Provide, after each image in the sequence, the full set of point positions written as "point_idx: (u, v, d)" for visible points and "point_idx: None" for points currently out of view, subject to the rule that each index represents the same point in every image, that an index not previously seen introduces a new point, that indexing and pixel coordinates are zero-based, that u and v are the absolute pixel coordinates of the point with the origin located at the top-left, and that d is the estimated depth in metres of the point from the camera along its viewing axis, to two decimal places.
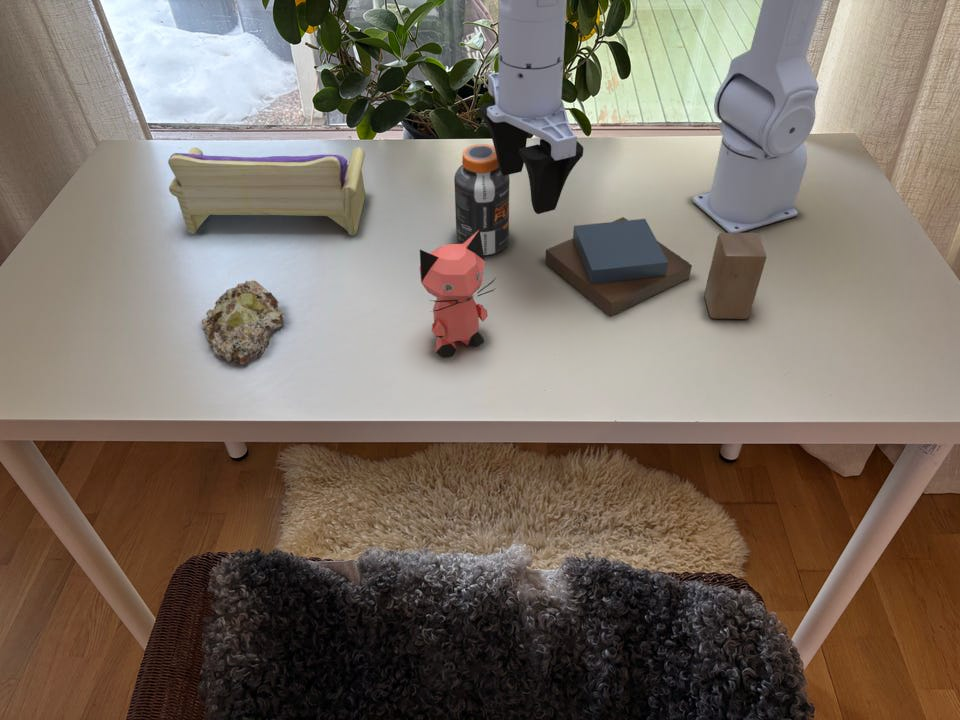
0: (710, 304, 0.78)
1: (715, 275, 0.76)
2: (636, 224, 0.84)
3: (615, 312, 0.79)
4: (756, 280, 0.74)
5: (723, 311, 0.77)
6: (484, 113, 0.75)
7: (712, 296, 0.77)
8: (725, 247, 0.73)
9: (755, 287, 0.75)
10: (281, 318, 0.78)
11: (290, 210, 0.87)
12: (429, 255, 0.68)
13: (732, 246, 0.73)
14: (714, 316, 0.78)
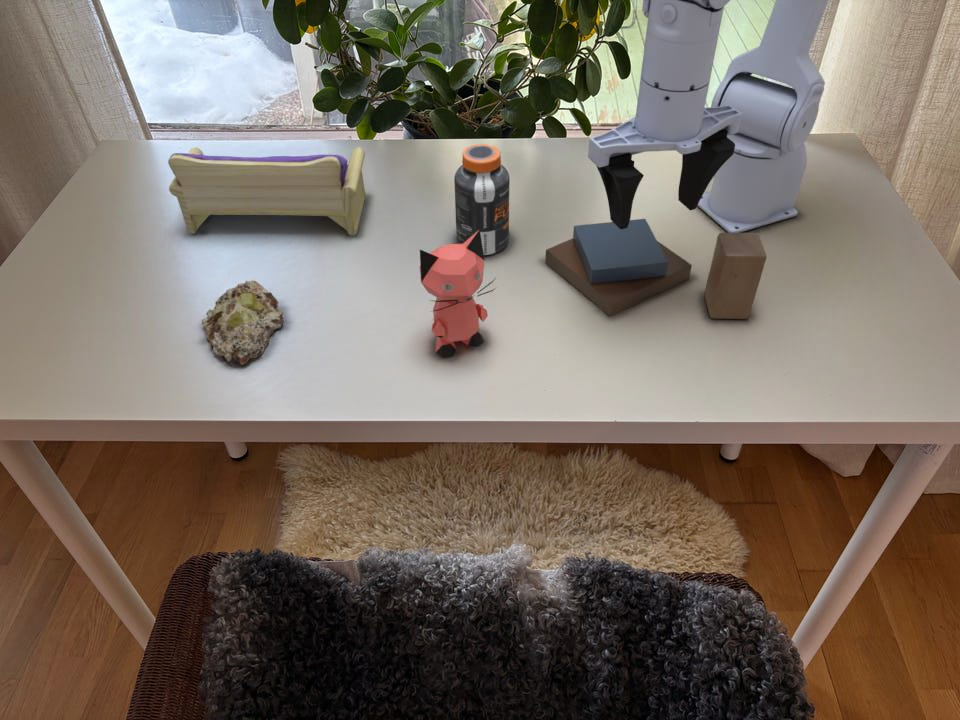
0: (710, 304, 0.78)
1: (715, 275, 0.76)
2: (636, 224, 0.84)
3: (615, 312, 0.79)
4: (756, 280, 0.74)
5: (723, 311, 0.77)
6: (638, 174, 0.67)
7: (712, 296, 0.77)
8: (725, 247, 0.73)
9: (755, 287, 0.75)
10: (281, 318, 0.78)
11: (290, 210, 0.87)
12: (429, 255, 0.68)
13: (732, 246, 0.73)
14: (714, 316, 0.78)
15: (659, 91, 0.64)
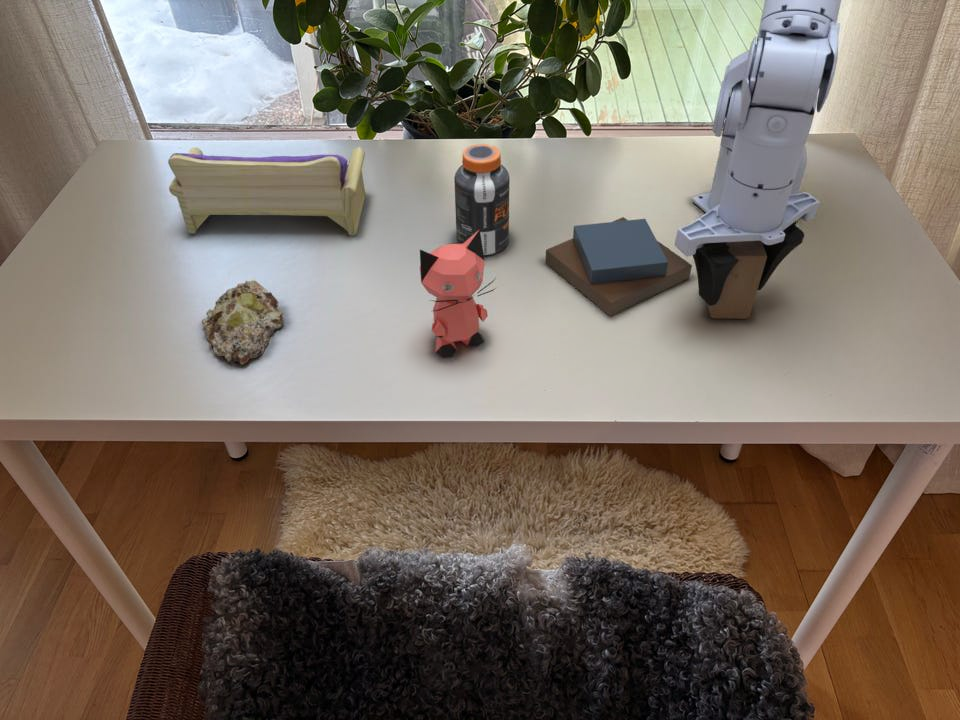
0: None
1: None
2: (636, 224, 0.84)
3: (615, 312, 0.79)
4: (756, 280, 0.74)
5: (724, 311, 0.77)
6: (734, 259, 0.70)
7: None
8: None
9: (755, 287, 0.75)
10: (281, 318, 0.78)
11: (290, 210, 0.87)
12: (429, 255, 0.68)
13: (732, 246, 0.73)
14: (714, 316, 0.78)
15: (748, 188, 0.67)
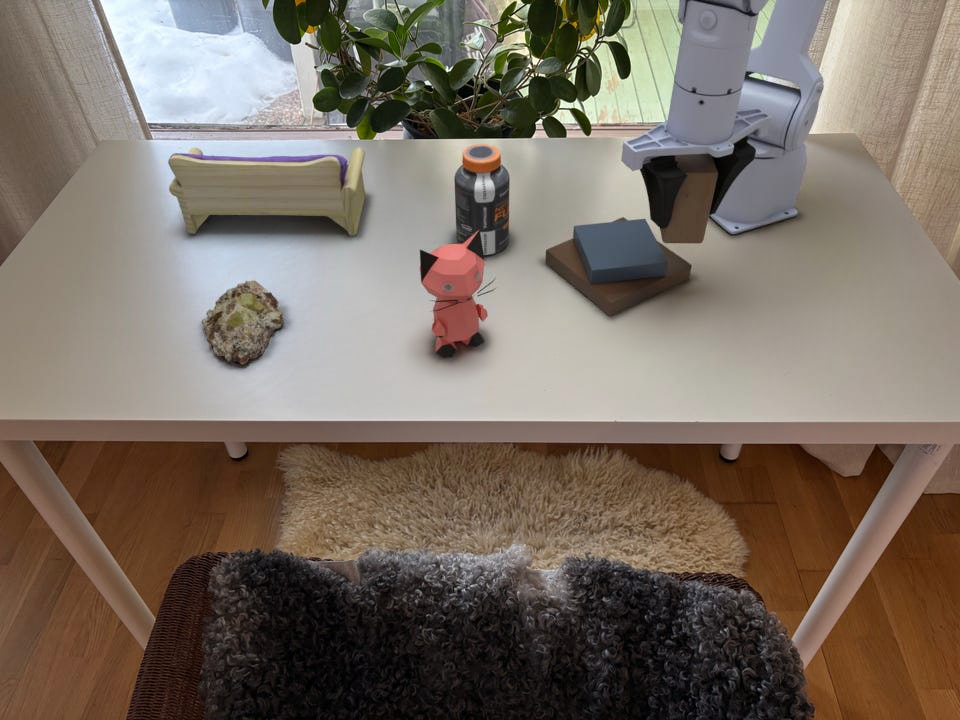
0: None
1: None
2: (636, 224, 0.84)
3: (615, 312, 0.79)
4: (708, 200, 0.72)
5: (676, 235, 0.75)
6: (682, 174, 0.68)
7: None
8: None
9: (707, 208, 0.72)
10: (281, 318, 0.78)
11: (290, 210, 0.87)
12: (429, 255, 0.68)
13: (682, 163, 0.71)
14: (667, 241, 0.75)
15: (694, 95, 0.64)
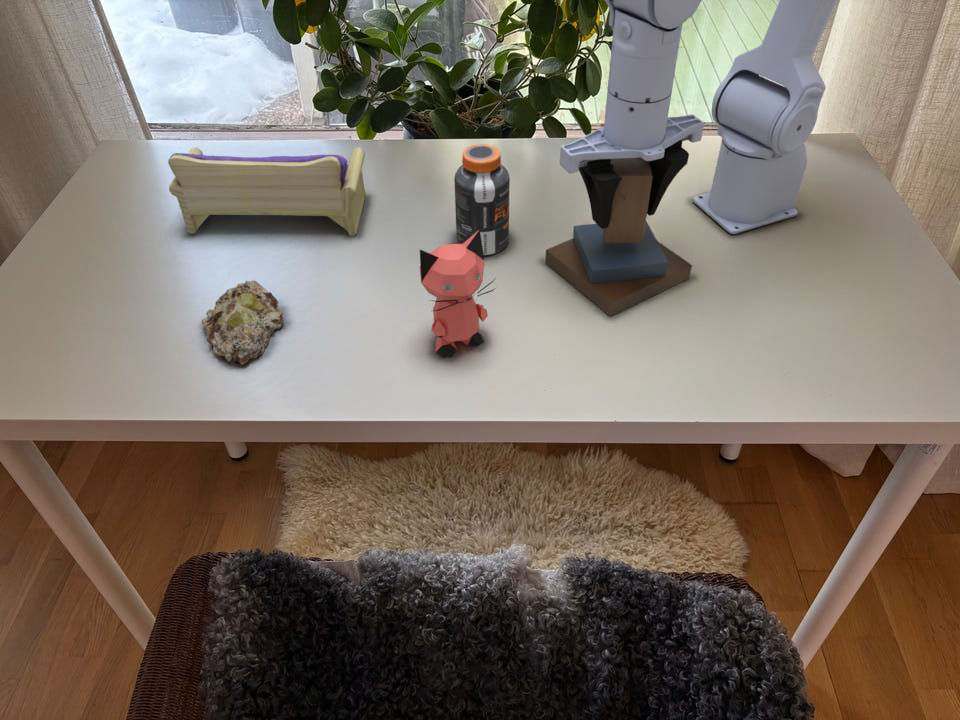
0: (604, 228, 0.79)
1: None
2: None
3: (615, 312, 0.79)
4: (644, 201, 0.76)
5: (616, 235, 0.78)
6: (616, 177, 0.72)
7: None
8: None
9: (644, 209, 0.76)
10: (281, 318, 0.78)
11: (290, 210, 0.87)
12: (429, 255, 0.68)
13: (619, 167, 0.75)
14: (608, 240, 0.79)
15: (624, 102, 0.68)
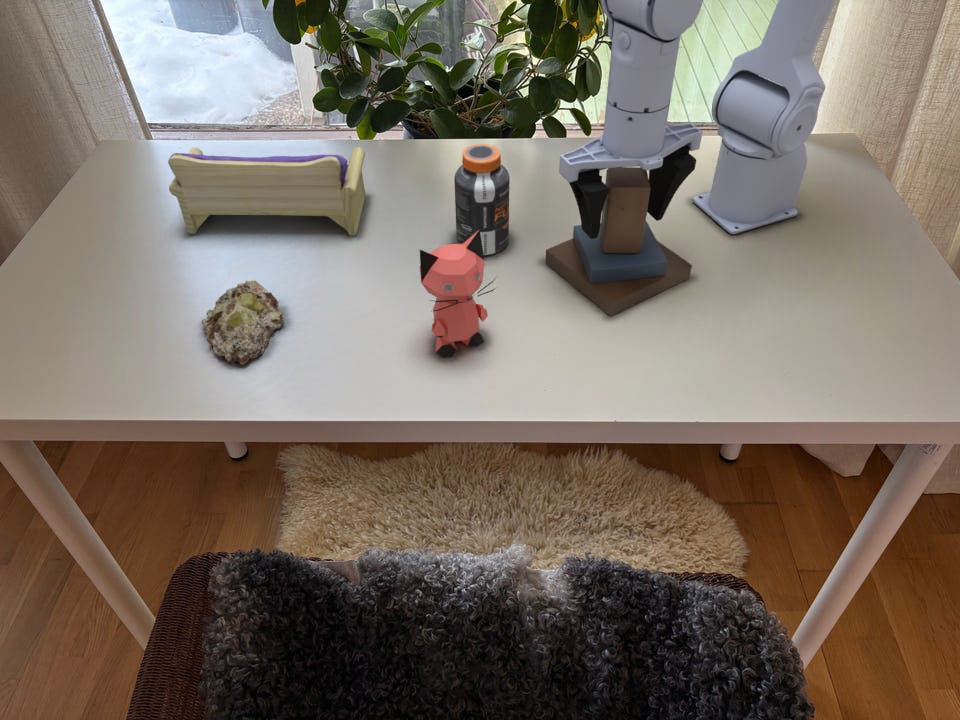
0: (602, 239, 0.80)
1: (605, 209, 0.78)
2: None
3: (615, 312, 0.79)
4: (642, 212, 0.76)
5: (615, 245, 0.79)
6: (605, 188, 0.72)
7: (603, 230, 0.79)
8: (611, 179, 0.76)
9: (642, 220, 0.77)
10: (281, 318, 0.78)
11: (290, 210, 0.87)
12: (429, 255, 0.68)
13: (618, 179, 0.76)
14: (606, 250, 0.80)
15: (623, 112, 0.69)
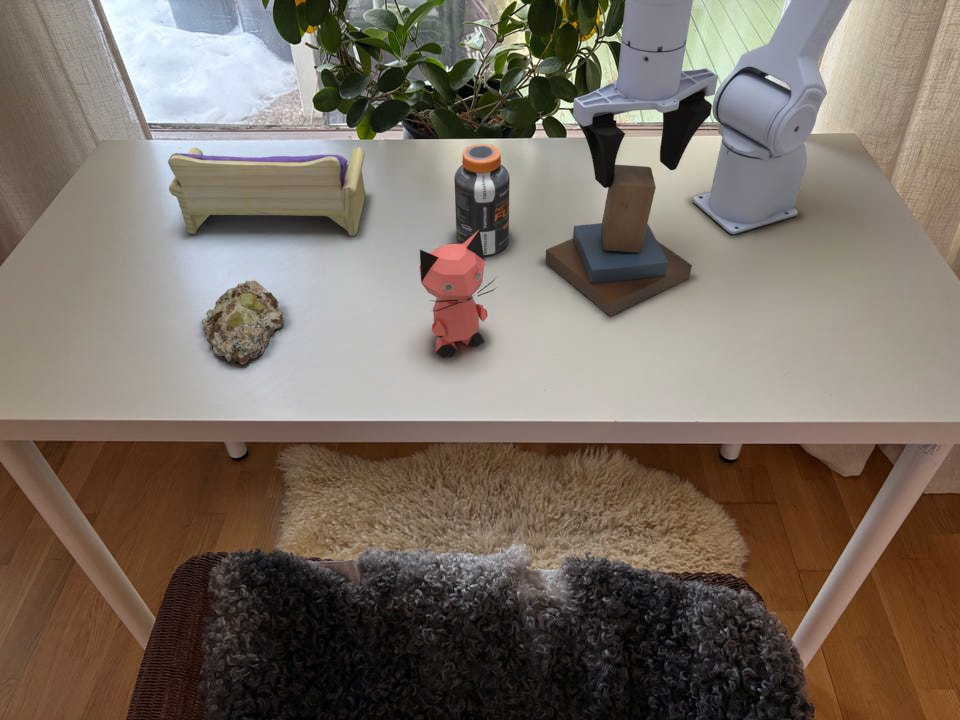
0: (604, 236, 0.80)
1: (608, 206, 0.78)
2: None
3: (615, 312, 0.79)
4: (646, 211, 0.76)
5: (616, 243, 0.79)
6: (620, 132, 0.71)
7: (605, 227, 0.79)
8: (616, 176, 0.76)
9: (645, 219, 0.77)
10: (281, 318, 0.78)
11: (290, 210, 0.87)
12: (429, 255, 0.68)
13: (623, 176, 0.76)
14: (607, 248, 0.80)
15: (638, 52, 0.68)
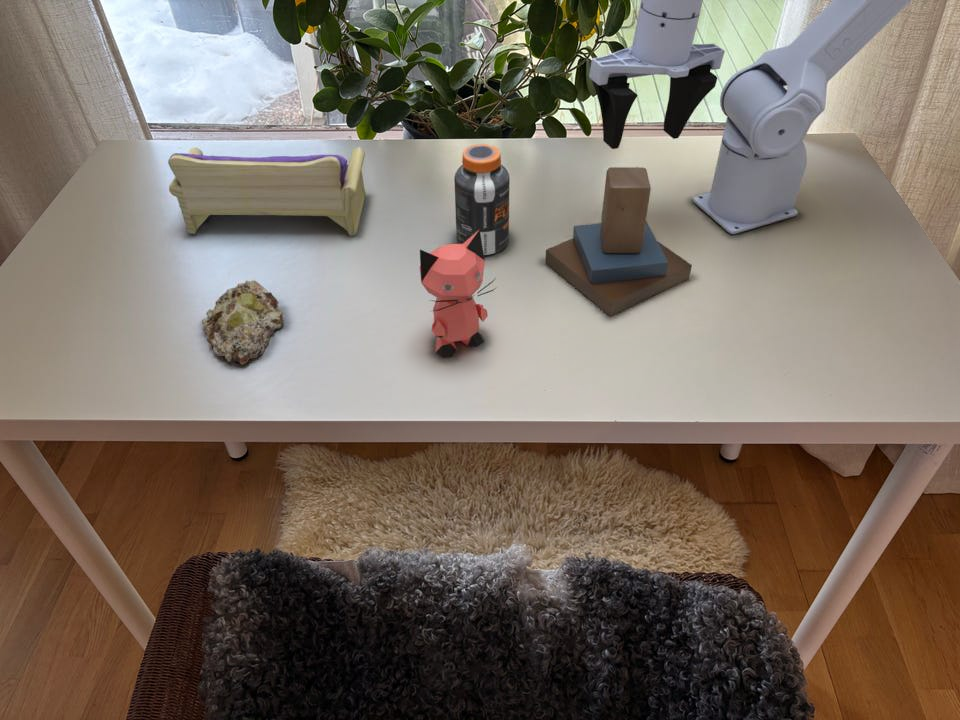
0: (603, 239, 0.80)
1: (605, 209, 0.78)
2: None
3: (615, 312, 0.79)
4: (643, 212, 0.76)
5: (615, 245, 0.79)
6: (632, 93, 0.76)
7: (604, 230, 0.79)
8: (611, 179, 0.76)
9: (643, 220, 0.77)
10: (281, 318, 0.78)
11: (290, 210, 0.87)
12: (429, 255, 0.68)
13: (618, 179, 0.76)
14: (607, 250, 0.80)
15: (656, 18, 0.72)
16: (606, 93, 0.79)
